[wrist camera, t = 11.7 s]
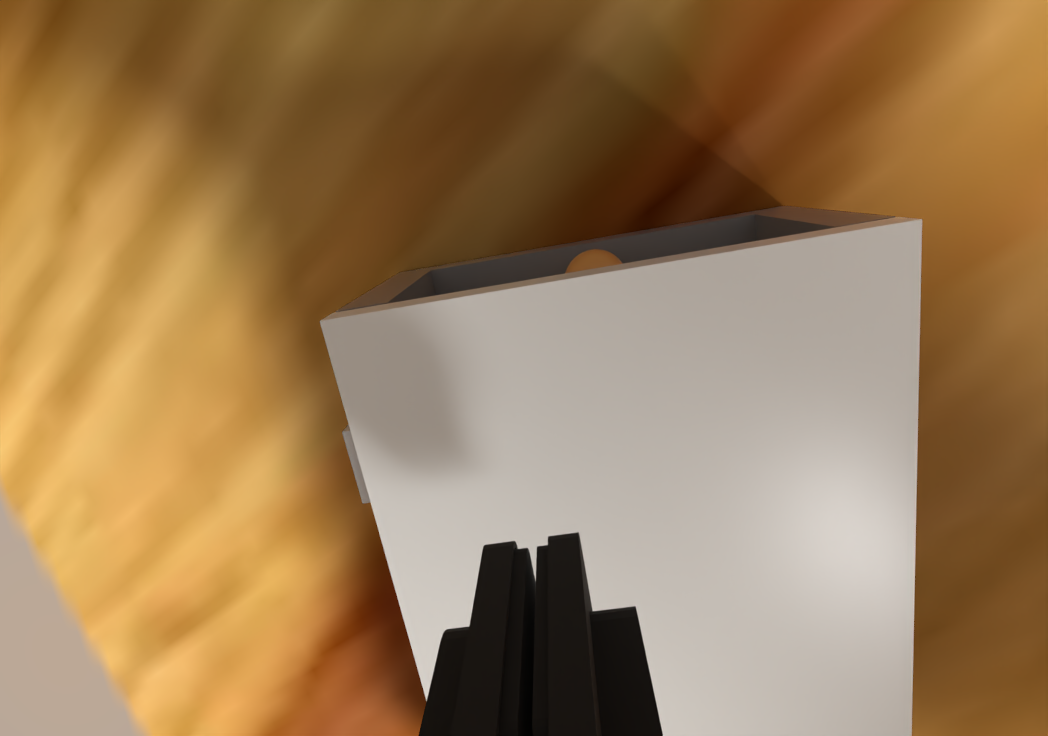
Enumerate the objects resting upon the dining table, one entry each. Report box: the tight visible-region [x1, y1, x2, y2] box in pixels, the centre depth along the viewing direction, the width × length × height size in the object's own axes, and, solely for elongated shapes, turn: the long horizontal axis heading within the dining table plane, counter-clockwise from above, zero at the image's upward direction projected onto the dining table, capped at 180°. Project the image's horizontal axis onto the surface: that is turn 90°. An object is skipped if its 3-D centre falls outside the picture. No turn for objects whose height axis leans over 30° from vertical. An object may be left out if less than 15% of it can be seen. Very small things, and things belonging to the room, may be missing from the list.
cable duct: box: [336, 206, 895, 503], centre depth 19 cm, size 22×13×6 cm, turn 10°
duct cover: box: [320, 217, 922, 736], centre depth 15 cm, size 22×12×1 cm, turn 10°
